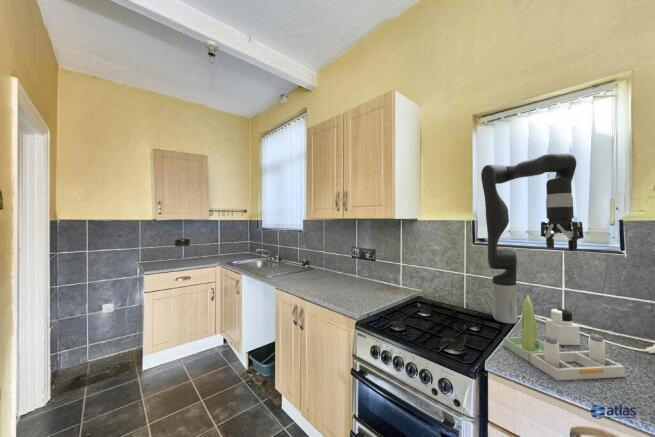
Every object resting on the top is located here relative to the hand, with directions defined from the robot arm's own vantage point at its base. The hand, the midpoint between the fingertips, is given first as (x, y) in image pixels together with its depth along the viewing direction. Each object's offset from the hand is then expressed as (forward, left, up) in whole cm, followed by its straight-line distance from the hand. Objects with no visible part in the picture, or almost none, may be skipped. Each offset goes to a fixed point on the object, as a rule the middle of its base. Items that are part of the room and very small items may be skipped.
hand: (561, 249), depth 95 cm
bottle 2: (+14, -4, -36) cm, 39 cm away
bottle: (+14, -19, -36) cm, 43 cm away
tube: (+3, -16, -36) cm, 39 cm away
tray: (+3, -16, -36) cm, 40 cm away
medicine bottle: (-4, +3, -36) cm, 37 cm away
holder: (+14, -11, -36) cm, 40 cm away
